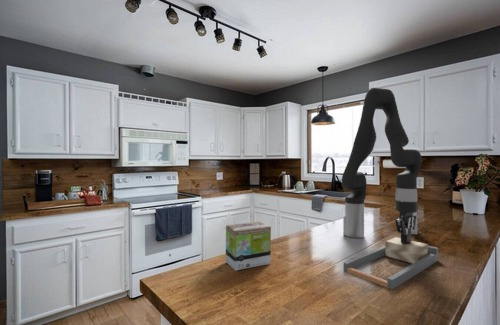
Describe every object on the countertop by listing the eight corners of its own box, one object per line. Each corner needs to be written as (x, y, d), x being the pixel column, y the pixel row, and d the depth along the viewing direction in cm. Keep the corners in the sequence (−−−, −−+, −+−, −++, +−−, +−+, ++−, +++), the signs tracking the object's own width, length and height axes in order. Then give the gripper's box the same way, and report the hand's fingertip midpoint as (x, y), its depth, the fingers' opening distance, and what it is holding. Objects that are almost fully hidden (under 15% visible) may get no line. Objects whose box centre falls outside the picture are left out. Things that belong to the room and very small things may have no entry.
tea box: (235, 272, 94) (235, 231, 94) (225, 262, 103) (224, 224, 102) (271, 264, 101) (271, 225, 100) (258, 255, 110) (258, 220, 109)
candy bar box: (400, 228, 149) (400, 200, 149) (409, 229, 148) (410, 200, 148) (407, 234, 138) (408, 203, 138) (418, 234, 137) (418, 203, 137)
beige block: (385, 255, 107) (385, 226, 107) (395, 250, 113) (395, 223, 113) (418, 265, 98) (418, 233, 98) (427, 259, 103) (427, 229, 103)
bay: (343, 270, 94) (343, 257, 94) (393, 248, 117) (393, 237, 117) (392, 289, 81) (392, 273, 80) (437, 260, 103) (438, 247, 103)
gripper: (404, 196, 112) (404, 236, 112) (388, 200, 104) (388, 243, 104) (423, 198, 106) (423, 241, 106) (408, 202, 98) (408, 248, 98)
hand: (406, 242), depth 105 cm, fingers closed on beige block, 3 cm apart
